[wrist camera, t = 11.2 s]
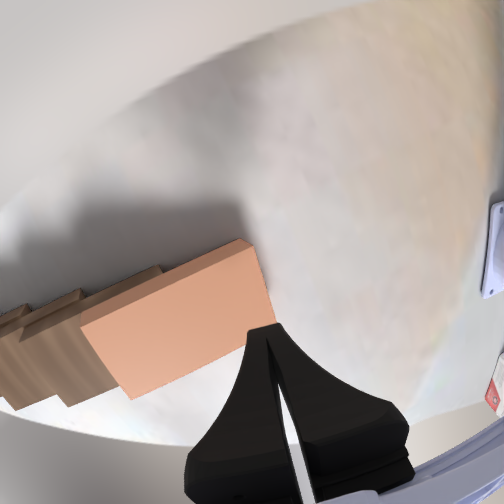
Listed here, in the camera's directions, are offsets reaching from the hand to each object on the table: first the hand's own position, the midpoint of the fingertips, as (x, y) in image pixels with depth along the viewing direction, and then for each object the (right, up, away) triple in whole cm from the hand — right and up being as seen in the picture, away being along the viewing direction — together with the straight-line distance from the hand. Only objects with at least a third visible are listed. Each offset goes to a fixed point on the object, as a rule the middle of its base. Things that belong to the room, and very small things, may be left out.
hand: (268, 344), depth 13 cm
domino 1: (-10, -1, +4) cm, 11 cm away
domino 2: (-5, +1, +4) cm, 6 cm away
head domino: (0, +2, +4) cm, 5 cm away
